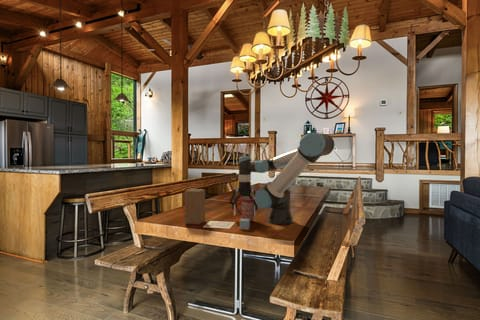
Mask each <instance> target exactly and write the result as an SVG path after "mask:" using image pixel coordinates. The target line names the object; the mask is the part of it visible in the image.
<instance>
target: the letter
mask: <svg viewBox="0 0 480 320" xmlns="http://www.w3.org/2000/svg"><path fill="white" fill-rule="evenodd" d="M235 223H236V222H234V221H219V220H209V221H208V222H206V223H205V225H203V226H202V228H212V229H223V230H224V229H227V230H230V229H231V228H232V227H233V225H235Z"/></svg>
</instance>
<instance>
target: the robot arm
mask: <svg viewBox="0 0 480 320" xmlns="http://www.w3.org/2000/svg"><path fill="white" fill-rule="evenodd" d="M334 149H335V141H334V139H333V137H332V136H331V135H329V134H327V133H318V132H309V133H306V134H304V135H303V136H302V137H301V139H300V141H299V146H298V147H297V148H295V149H293V150H289V151H287V152H284V153H282V154H279V155H277V156H275V157H272V158H270V159H252V157H251V156H246V155H245V156H239V158H238V189H237V188H234V189H233V193H232V195H231V198H230V199H229V202H228V203H229V204H230V205H231V209H232V211H233V216H236V215H237V209H236V206H235V203H236V201H237V200H240V199H241V197H249V198H250V199H254V198H255V201H254V204H255V205H254V218H255V217H256V215H257V212H258V208H259V209H261V210H269V209H270V211H269V214H268V217H267V218H268V223H269V224H273V225H290V224H292V223H294V218H293V214H292V211H291V187H290V186H291V185H292V184H293V182H295V180H296V179H297V178H298V177H299V176H300V175H301V174H302V173H303V171H304V170H305V169H306V168H307V167H308V166H309V165H310V164H315V163H316V162H317V161H318V159H320V158H321V157H324V156H328V155H329V154H331V153H332V152H333V151H334ZM279 169H282V170H281V171H280V172H279V173H278V175H276V177H275V178H273V180H272V181H268V182H267V183H266V184H265V185H264V186H263V188H259V189H258V190H257V189H256V188H255V189H252V181H251V180H252V178H251V177H252V173H259V174H263V173H266V172H275V171H277V170H279ZM237 193H238V195H237V196H236V194H237ZM252 194H253V195H252ZM235 196H236V198H235ZM253 196H254V198H253Z"/></svg>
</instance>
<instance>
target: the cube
mask: <svg viewBox="0 0 480 320" xmlns="http://www.w3.org/2000/svg"><path fill="white" fill-rule="evenodd" d="M250 227H251V221H250V219H242V217H241V218H240V220H239V230H242V231H243V230H245V231H249V230H250Z"/></svg>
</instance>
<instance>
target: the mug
mask: <svg viewBox="0 0 480 320" xmlns="http://www.w3.org/2000/svg"><path fill="white" fill-rule="evenodd" d="M252 197H253V196H252ZM253 198H254V199H250V198H249V196H241V197H240V199H241V200H240V199H238V200H237V201H236V203H235V206H236V212H238V213H239V215H240V216H241V218H242V219H250V222H252V221H254V219H255V217H254V205H255V204H254V201H255V196H254V197H253ZM238 202H239V203H240V206H241V211H240V210H239V207H238Z"/></svg>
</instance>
